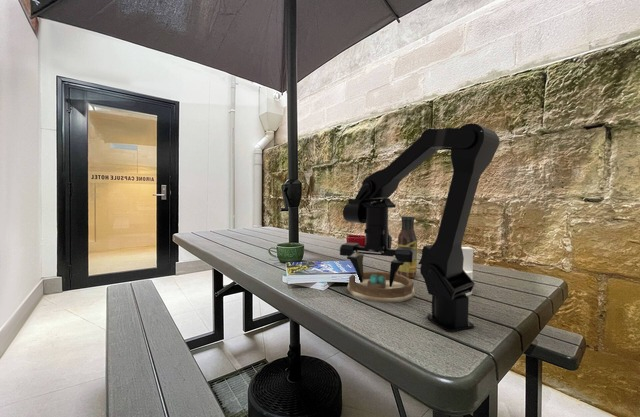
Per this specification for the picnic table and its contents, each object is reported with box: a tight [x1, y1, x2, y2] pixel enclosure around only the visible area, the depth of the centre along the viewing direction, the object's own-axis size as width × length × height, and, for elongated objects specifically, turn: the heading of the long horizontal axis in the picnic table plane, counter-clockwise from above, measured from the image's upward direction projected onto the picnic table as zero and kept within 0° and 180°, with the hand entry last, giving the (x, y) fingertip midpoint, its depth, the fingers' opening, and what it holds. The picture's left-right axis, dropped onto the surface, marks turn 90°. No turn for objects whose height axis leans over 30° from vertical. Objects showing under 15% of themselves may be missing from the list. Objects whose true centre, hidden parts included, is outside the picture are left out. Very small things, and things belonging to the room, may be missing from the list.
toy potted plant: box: [367, 274, 385, 288], centre depth 71 cm, size 4×4×4 cm
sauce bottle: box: [396, 215, 418, 279], centre depth 90 cm, size 7×6×20 cm
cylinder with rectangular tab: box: [461, 246, 474, 297], centre depth 76 cm, size 9×9×12 cm
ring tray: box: [347, 270, 415, 304], centre depth 76 cm, size 18×18×4 cm
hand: (376, 284), depth 71 cm, fingers open, 7 cm apart
